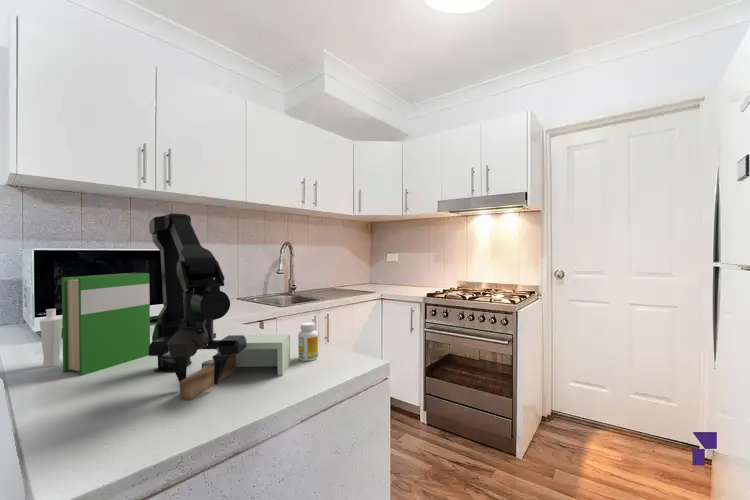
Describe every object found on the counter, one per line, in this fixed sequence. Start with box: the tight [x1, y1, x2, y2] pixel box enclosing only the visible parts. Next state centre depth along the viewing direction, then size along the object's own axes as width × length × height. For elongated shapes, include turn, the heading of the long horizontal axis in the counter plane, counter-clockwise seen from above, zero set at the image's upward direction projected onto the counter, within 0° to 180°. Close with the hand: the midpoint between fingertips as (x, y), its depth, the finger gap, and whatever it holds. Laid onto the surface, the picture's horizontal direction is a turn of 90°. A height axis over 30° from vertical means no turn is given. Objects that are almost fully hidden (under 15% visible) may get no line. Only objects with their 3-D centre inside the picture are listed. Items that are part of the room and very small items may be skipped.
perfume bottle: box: [39, 308, 63, 368], centre depth 93 cm, size 5×4×15 cm
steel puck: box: [201, 359, 214, 369], centre depth 87 cm, size 5×5×2 cm
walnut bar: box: [179, 355, 237, 401], centre depth 80 cm, size 2×18×4 cm, turn 174°
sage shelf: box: [215, 333, 291, 377], centre depth 88 cm, size 16×8×8 cm, turn 91°
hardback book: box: [61, 272, 151, 376], centre depth 95 cm, size 18×7×24 cm, turn 160°
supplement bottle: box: [297, 321, 319, 362], centre depth 97 cm, size 5×5×10 cm
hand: (199, 384), depth 75 cm, fingers open, 7 cm apart
